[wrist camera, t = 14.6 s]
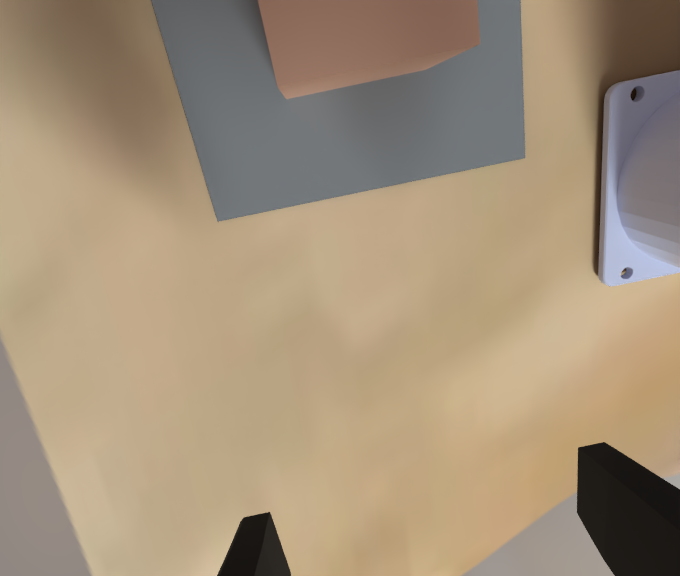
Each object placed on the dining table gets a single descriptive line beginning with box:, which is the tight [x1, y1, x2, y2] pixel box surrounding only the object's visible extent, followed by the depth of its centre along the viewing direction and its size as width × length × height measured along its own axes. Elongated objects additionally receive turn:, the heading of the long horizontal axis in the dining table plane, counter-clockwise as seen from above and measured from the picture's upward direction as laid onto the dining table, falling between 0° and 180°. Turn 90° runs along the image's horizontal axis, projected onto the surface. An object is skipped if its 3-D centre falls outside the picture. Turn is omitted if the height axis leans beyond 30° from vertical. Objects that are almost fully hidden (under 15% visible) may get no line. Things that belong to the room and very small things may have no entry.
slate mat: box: [151, 0, 525, 221], centre depth 14 cm, size 12×12×1 cm
